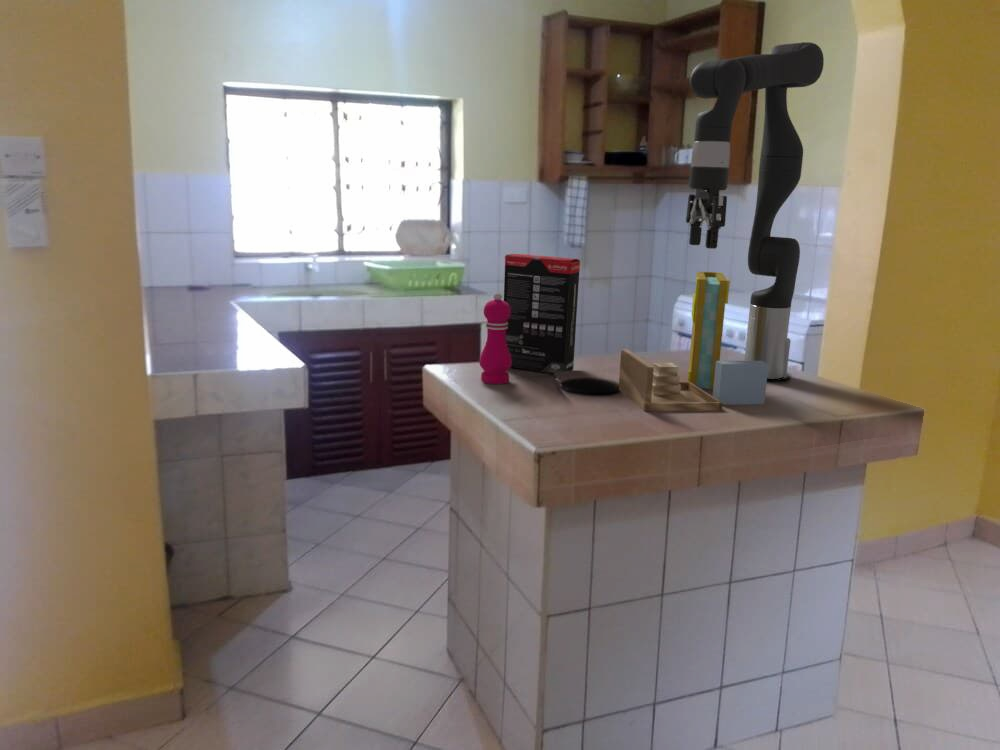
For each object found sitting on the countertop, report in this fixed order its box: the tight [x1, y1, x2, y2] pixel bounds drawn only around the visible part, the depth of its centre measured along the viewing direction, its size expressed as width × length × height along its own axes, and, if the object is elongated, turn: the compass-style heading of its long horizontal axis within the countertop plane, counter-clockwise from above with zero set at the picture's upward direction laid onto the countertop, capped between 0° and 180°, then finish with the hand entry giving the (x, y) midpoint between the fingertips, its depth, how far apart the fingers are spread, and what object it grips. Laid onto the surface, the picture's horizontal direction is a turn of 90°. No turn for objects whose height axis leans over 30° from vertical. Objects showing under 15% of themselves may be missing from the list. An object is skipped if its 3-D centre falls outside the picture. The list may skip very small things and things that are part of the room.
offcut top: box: [652, 362, 679, 376], centre depth 171 cm, size 4×4×2 cm
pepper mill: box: [478, 292, 512, 385], centre depth 180 cm, size 7×7×20 cm
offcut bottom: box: [652, 384, 681, 395], centre depth 172 cm, size 6×4×2 cm, turn 99°
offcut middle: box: [653, 372, 680, 386], centre depth 172 cm, size 5×4×2 cm
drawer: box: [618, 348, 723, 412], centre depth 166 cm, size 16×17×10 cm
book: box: [687, 271, 731, 391], centre depth 182 cm, size 17×7×25 cm, turn 168°
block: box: [712, 360, 769, 406], centre depth 165 cm, size 10×3×9 cm, turn 99°
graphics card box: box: [503, 253, 581, 375], centre depth 191 cm, size 17×7×27 cm, turn 65°
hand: (702, 246), depth 166 cm, fingers open, 8 cm apart
